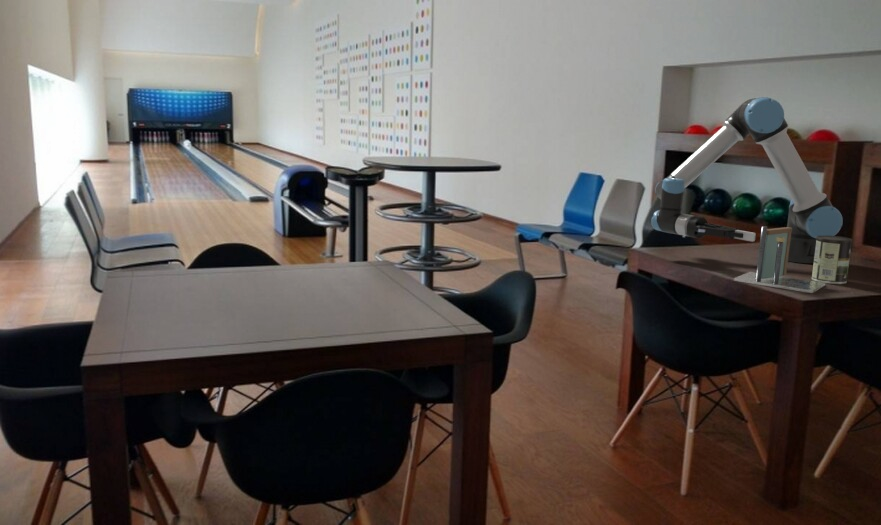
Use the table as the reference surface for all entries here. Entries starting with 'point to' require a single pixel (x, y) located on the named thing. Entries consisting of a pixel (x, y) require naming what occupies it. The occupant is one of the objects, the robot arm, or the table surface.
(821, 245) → the coffee can
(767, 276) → the panel
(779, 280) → the gate frame
